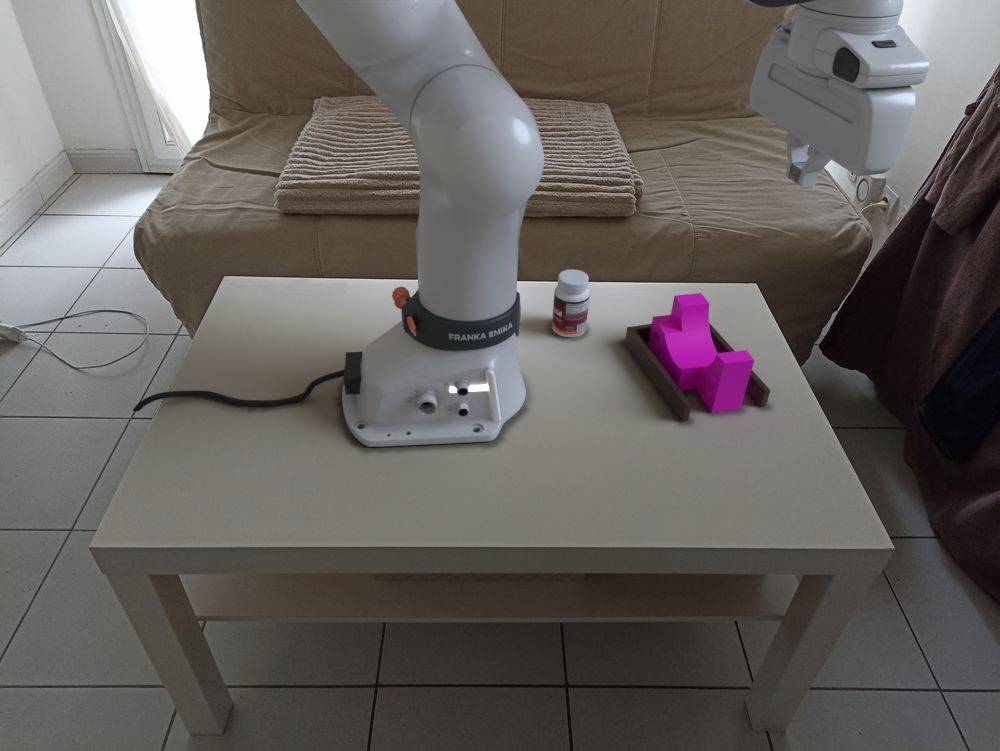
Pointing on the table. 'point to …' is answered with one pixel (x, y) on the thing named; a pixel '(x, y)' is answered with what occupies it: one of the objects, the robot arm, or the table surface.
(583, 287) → the pill bottle
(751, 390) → the bay
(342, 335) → the table surface
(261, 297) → the table surface
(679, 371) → the toy block
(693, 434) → the table surface
